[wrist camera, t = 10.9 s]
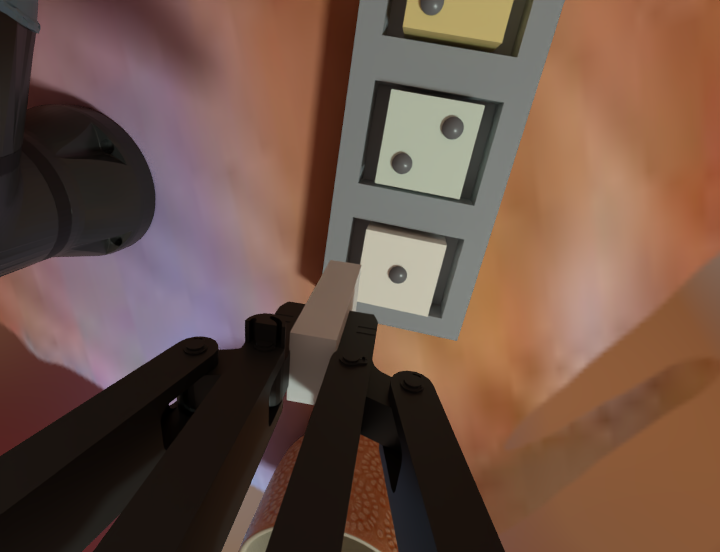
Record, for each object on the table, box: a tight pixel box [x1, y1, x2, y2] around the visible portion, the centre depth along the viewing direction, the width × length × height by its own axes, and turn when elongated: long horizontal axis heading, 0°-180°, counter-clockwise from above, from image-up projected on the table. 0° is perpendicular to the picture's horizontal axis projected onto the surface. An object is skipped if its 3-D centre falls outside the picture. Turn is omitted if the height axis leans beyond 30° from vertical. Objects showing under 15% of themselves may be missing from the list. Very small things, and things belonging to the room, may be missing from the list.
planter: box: [239, 434, 399, 552], centre depth 43 cm, size 17×17×15 cm
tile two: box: [375, 89, 485, 199], centre depth 31 cm, size 7×7×4 cm
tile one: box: [357, 221, 447, 317], centre depth 35 cm, size 7×7×4 cm
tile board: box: [322, 0, 565, 341], centre depth 32 cm, size 14×34×4 cm, turn 171°
